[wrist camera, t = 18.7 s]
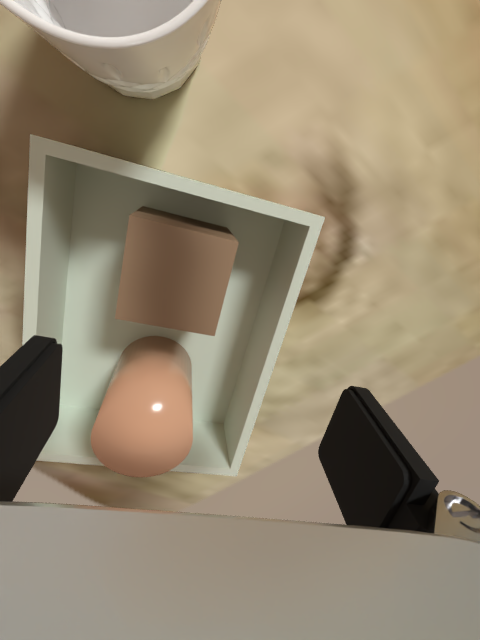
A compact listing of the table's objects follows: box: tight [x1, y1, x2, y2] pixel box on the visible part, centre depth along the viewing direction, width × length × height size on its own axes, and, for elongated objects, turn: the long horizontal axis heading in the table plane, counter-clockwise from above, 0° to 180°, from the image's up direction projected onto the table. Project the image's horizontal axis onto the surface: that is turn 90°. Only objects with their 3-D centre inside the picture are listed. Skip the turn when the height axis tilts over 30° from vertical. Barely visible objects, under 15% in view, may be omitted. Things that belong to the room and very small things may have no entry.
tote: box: [22, 134, 325, 476], centre depth 20 cm, size 13×17×5 cm
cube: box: [115, 206, 239, 336], centre depth 18 cm, size 5×5×5 cm
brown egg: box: [91, 336, 193, 477], centre depth 20 cm, size 5×5×7 cm
